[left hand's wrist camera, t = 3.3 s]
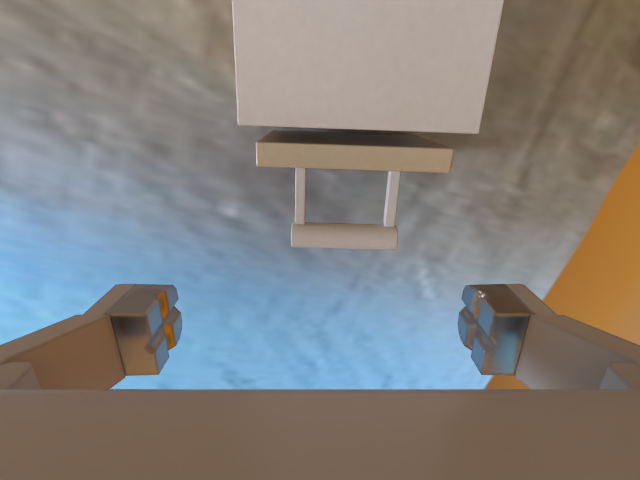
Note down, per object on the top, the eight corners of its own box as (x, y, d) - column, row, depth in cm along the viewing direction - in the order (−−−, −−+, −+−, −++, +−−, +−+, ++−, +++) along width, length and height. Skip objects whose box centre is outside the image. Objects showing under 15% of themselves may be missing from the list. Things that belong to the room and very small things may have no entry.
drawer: (403, 228, 26) (433, 271, 20) (273, 224, 26) (259, 267, 19) (468, -275, 17) (567, -516, 10) (266, -288, 17) (234, -544, 10)
